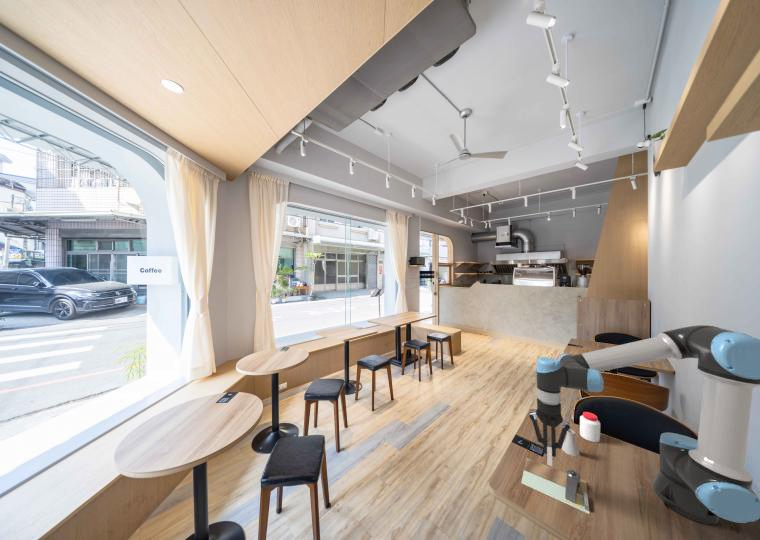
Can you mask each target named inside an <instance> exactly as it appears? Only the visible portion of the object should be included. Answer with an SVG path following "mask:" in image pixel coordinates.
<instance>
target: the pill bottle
mask: <svg viewBox="0 0 760 540" xmlns="http://www.w3.org/2000/svg"><path fill="white" fill-rule="evenodd" d="M579 435H580V437H582V439H585V440H586V441H589V442H592V443H599V442H600V441H601V422H600V420H598V416H597V415H596V414H594V413H592V412H589V411H583V412H582V415H580V416H579Z"/></svg>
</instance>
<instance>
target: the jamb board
mask: <svg viewBox="0 0 760 540" xmlns="http://www.w3.org/2000/svg"><path fill="white" fill-rule="evenodd" d="M524 470H525V471H527V472H530V473H532V474H535V475H537V476H539V477H542V478H544V479H546V480H549V481H551V482H553V483H556V484H558V485H560V486H563V487H565V488H566V485H567V472H564V471H561V470H559V469H556V468H553V467H552V466H550V465H546V464H544V463H541V462H539V461H536V460H534V459H531V458H528V457H526V458H525V463H524V467H523V471H524ZM584 492H585V493H587V496H588V488H587V481H586V480H584V479H582V478H580V486H579V487H578V488H577V493H579V494H582V495H584ZM588 497H589V496H588Z"/></svg>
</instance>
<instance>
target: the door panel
mask: <svg viewBox="0 0 760 540" xmlns="http://www.w3.org/2000/svg"><path fill="white" fill-rule="evenodd" d="M521 484H522V485H525V486H527V487H528V488H531V489H533V490H535V491H538V492H540V493H542V494H545V495H547V496H549V497H551V498H553V499H556V500H558V501H559V502H562V503H564V504H566V505H569V506H570V507H572V508H575V509H577V510H580V511H581V512H584V513H585V514H588V515H590V513H591V512H590V505H589V496H587V495H588V492H587V493H585V492H584V495H583V494H581V493H578V492H577V495H576V502H575V503H573V502H571V501H569V500H567V499H565V490H566V487H564V486H562V485H559V484H557V483H555V482H552V481H550V480H548V479H545V478H543V477H541V476H538V475H536V474H534V473H531V472H529V471H526V470H524V469H523V472H522V477H521Z"/></svg>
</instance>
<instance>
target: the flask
mask: <svg viewBox="0 0 760 540" xmlns="http://www.w3.org/2000/svg"><path fill="white" fill-rule="evenodd" d="M575 435H576V432H575V431H574V430H573V429H571V428H570V429H569V430H568V431H567V432H566V435H565V439H564V442H563V445H562V448H561V449H560V450H562V451H563V452H564V453H566V455H569V456H573V457H579V456H581V455H580V452H579V449H578V446H577V444H576V438H575Z"/></svg>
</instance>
